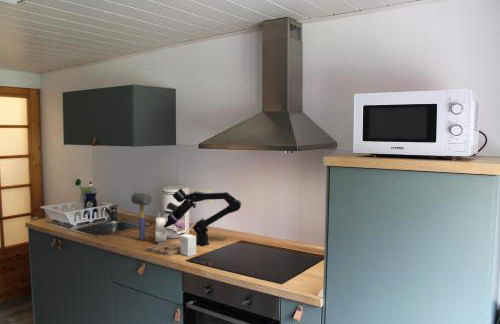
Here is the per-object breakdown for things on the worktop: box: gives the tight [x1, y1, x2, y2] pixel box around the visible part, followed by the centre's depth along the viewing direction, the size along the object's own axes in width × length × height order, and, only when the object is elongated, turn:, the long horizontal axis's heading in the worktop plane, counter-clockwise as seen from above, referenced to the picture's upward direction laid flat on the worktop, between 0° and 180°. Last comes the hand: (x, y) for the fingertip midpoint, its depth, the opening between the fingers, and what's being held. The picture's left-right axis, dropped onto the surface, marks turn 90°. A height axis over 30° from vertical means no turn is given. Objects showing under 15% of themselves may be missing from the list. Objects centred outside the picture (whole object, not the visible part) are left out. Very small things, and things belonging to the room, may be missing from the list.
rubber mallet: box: [130, 192, 152, 241], centre depth 255 cm, size 12×8×30 cm, turn 54°
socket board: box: [145, 241, 181, 257], centre depth 233 cm, size 18×15×2 cm
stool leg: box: [154, 216, 168, 244], centre depth 247 cm, size 7×7×16 cm
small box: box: [179, 233, 197, 257], centre depth 225 cm, size 8×6×10 cm
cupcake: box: [173, 218, 184, 228], centre depth 272 cm, size 9×9×10 cm
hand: (166, 225), depth 247 cm, fingers open, 9 cm apart
